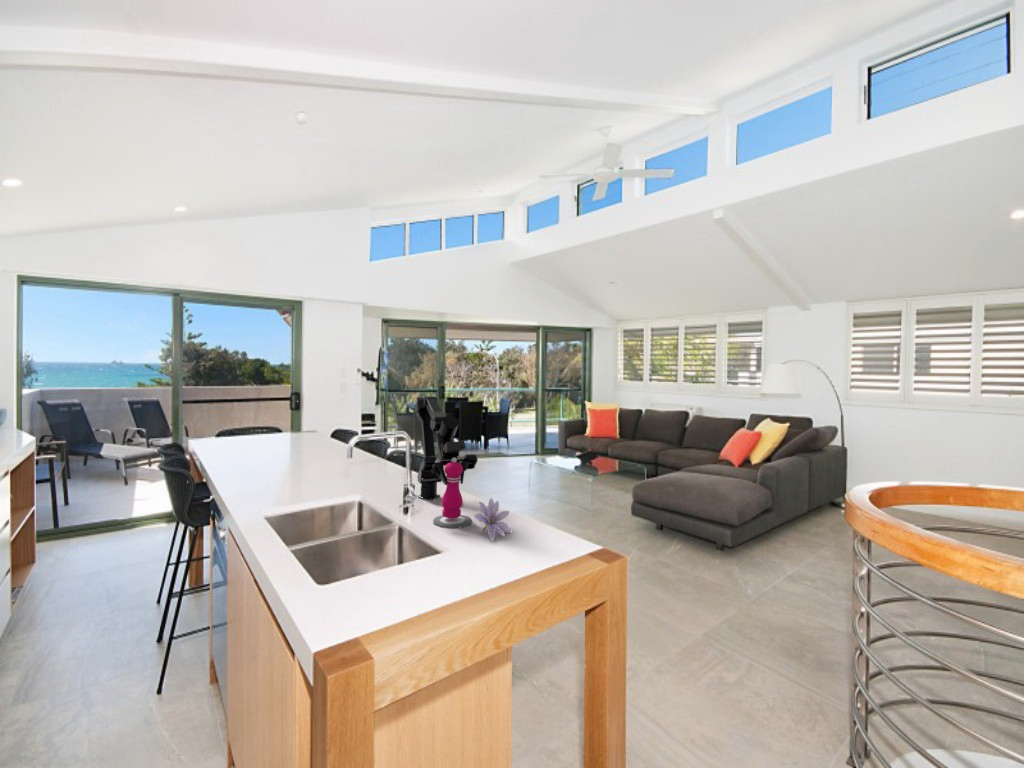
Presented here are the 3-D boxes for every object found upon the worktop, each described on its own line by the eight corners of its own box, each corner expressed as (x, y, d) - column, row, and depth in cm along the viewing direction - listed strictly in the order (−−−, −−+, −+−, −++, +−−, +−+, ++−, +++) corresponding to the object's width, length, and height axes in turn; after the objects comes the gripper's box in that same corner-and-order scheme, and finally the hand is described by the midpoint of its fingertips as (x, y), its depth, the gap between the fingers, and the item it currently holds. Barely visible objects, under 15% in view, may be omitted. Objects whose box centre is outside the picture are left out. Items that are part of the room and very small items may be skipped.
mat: (447, 513, 178) (447, 511, 178) (478, 519, 172) (479, 517, 172) (425, 523, 166) (425, 521, 166) (458, 530, 160) (458, 528, 160)
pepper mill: (446, 509, 174) (449, 453, 172) (465, 513, 172) (468, 456, 170) (437, 516, 168) (439, 458, 165) (456, 520, 165) (459, 461, 163)
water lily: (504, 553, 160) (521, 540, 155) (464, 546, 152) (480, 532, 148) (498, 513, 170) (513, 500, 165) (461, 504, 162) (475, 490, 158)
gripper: (424, 432, 168) (431, 472, 158) (476, 431, 175) (486, 469, 165) (418, 451, 175) (425, 490, 166) (469, 449, 183) (478, 486, 173)
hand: (454, 484), depth 167 cm, fingers closed on pepper mill, 5 cm apart
